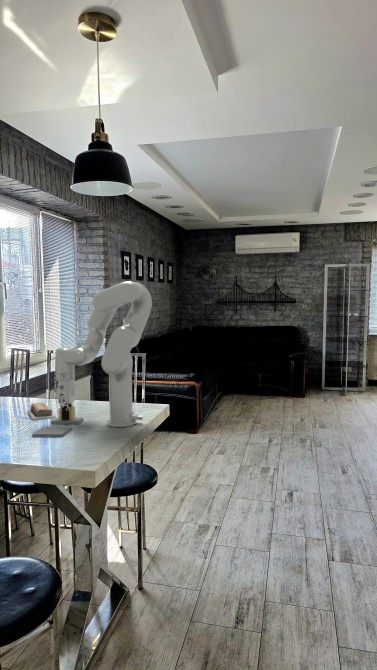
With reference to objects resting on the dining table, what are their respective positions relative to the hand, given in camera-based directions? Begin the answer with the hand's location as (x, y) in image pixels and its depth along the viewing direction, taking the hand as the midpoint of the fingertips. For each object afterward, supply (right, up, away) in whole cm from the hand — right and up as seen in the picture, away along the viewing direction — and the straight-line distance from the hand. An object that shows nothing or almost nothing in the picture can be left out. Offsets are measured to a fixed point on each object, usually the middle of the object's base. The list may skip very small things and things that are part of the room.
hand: (67, 418), depth 189 cm
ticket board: (-1, -3, -16) cm, 17 cm away
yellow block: (0, -2, 0) cm, 2 cm away
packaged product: (-16, -2, +14) cm, 21 cm away
